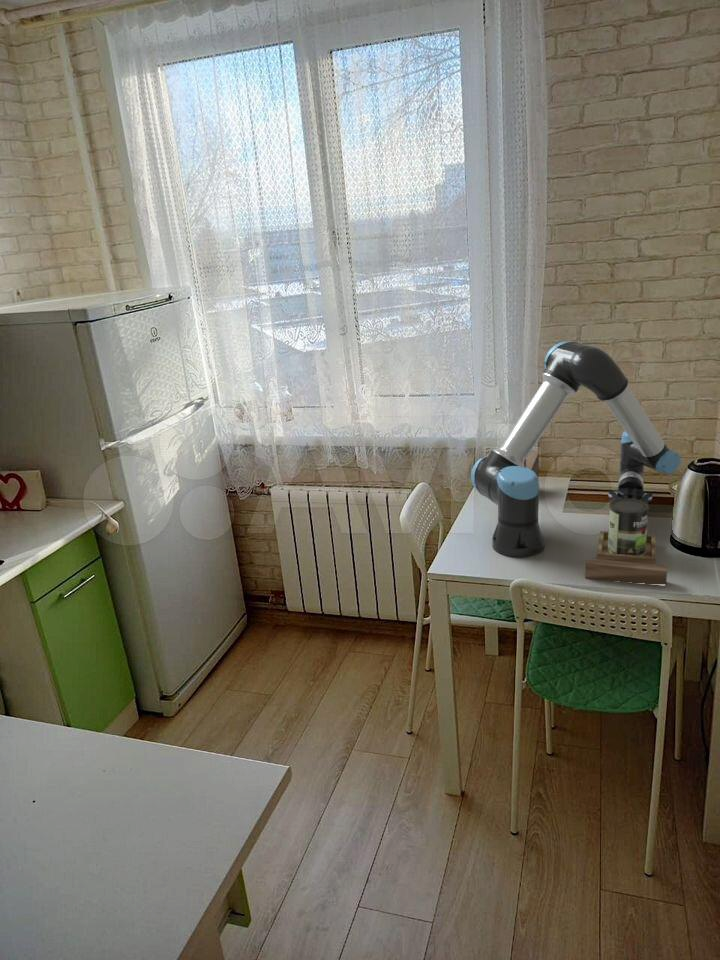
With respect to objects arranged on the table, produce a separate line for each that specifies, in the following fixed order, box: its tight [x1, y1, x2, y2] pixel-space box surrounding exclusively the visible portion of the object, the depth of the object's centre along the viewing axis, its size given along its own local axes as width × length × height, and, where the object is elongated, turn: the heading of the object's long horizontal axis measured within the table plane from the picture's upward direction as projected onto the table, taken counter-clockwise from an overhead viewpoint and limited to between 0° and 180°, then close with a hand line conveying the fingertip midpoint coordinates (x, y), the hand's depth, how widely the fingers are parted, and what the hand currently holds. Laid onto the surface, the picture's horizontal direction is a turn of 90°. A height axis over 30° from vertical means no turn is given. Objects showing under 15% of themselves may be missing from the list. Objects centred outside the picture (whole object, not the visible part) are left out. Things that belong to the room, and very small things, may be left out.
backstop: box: [584, 557, 668, 585], centre depth 188 cm, size 3×20×5 cm, turn 69°
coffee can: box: [608, 498, 650, 556], centre depth 200 cm, size 10×10×14 cm
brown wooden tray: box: [596, 530, 657, 565], centre depth 202 cm, size 15×15×3 cm
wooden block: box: [524, 450, 540, 477], centre depth 247 cm, size 4×11×18 cm, turn 136°
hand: (629, 516), depth 207 cm, fingers closed
